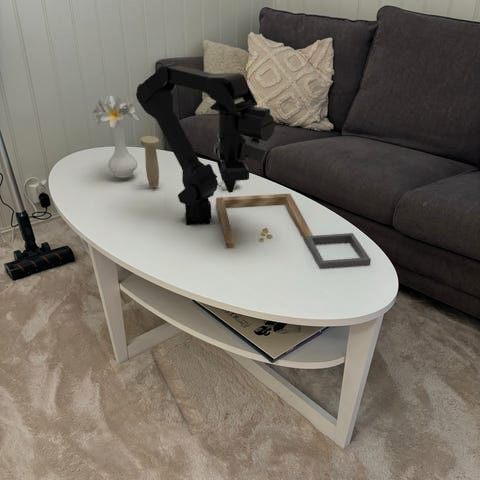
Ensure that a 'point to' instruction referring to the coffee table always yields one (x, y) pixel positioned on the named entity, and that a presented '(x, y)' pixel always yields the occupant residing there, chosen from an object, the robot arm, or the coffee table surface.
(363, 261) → the bin
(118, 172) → the flower vase
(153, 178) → the handle
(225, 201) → the wooden u-frame
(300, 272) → the coffee table surface
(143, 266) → the coffee table surface
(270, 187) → the coffee table surface
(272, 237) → the dice set
